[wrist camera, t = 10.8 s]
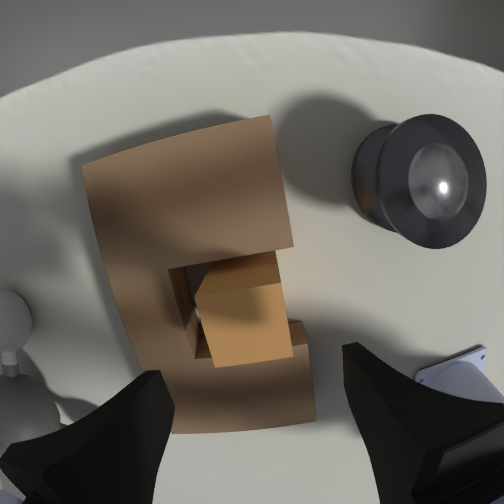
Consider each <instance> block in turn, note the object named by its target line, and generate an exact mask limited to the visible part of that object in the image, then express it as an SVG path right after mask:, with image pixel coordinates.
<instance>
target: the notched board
mask: <svg viewBox="0 0 504 504" xmlns="http://www.w3.org/2000/svg"><path fill="white" fill-rule="evenodd" d="M81 166H82V172H83V178H84V183H85V188H86V193H87V198H88V203H89V208H90V212H91V217H92V221H93V225H94V229H95V233H96V237H97V241H98V245H99V249H100V252H101V256H102V259H103V263H104V266H105V270H106V273H107V276H108V280H109V283H110V286H111V289H112V292H113V295H114V298H115V301H116V304H117V307H118V310H119V313H120V316H121V319H122V322H123V324H124V327H125V330H126V332H127V335H128V338H129V340H130V343H131V345H132V348H133V350H134V353H135V355H136V358H137V360H138V363H139V365H140V367H141V370H142V372H143V373H144V372H145V371H147V370H160V371H161V374H162V376H163V379H164V381H165V384H166V386H167V388H168V391H169V393H170V395H171V397H172V400H173V402H174V404H175V413H174V419H173V425H172V429H171V433H172V434H194V433H220V432H236V431H248V430H258V429H267V428H275V427H282V426H289V425H296V424H302V423H308V422H314V421H316V412H315V402H314V393H313V384H312V375H311V366H310V358H309V350H308V343H307V339H306V335H305V331H304V327H303V323H302V321H300V322H294V323H288V326H289V332H290V338H291V344H292V350H293V357H288V358H282V359H276V360H269V361H263V362H256V363H249V364H242V365H234V366H225V367H217V368H215V365H214V362H213V359H212V356H211V353H210V349H209V346H208V343H207V340H206V336H203V335H202V332H201V328H200V325H199V321H198V318H197V314H196V311H195V307H194V304H193V300H192V296H191V293H190V289H189V285H188V281H187V278H186V274H185V270H184V266H188V265H194V264H200V263H205V262H211V261H217V260H222V259H228V258H234V257H239V256H245V255H251V254H256V253H262V252H268V251H273V250H279V249H285V248H290V247H294V245H293V239H292V233H291V227H290V221H289V215H288V210H287V204H286V198H285V193H284V187H283V182H282V176H281V171H280V165H279V160H278V155H277V150H276V145H275V140H274V135H273V130H272V125H271V120H270V115H267V116H261V117H255V118H250V119H244V120H239V121H234V122H229V123H225V124H220V125H215V126H211V127H207V128H202V129H198V130H194V131H190V132H186V133H182V134H178V135H174V136H171V137H167V138H163V139H160V140H156V141H153V142H150V143H146V144H143V145H140V146H136V147H133V148H130V149H127V150H124V151H121V152H118V153H115V154H112V155H109V156H106V157H103V158H100V159H98V160H95V161H92V162H89V163H87V164H84V165H81Z"/></svg>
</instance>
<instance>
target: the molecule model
mask: <svg viewBox="0 0 504 504" xmlns="http://www.w3.org/2000/svg"><path fill="white" fill-rule="evenodd" d="M31 330H32V318H31V314H30V310H29V308H28V306H27V305H26V303H25V302H24V300H23V299H22V298H21V297H19V296H18V295H17V294H15V293H14V292H11V291H6V290H0V352H1V359H2V366H3V372H4V374H3V375H0V457H1V455H2V454H3V452H4V451H6V449H7V448H8V447H9V445H10V444H11V443H16V442H21V441H25V440H30V439H34V438H38V437H41V436H44V435H47V434H50V433H52V432H55V431H57V430H60V429H62V428H64V427H66V426H68V425H65V424H62V423H60V413H59V411H58V408H57V406H56V403H55V401H54V399H53V397H52V396H51V395H50V393H49V392H48V391H47V390H46V389H45V387H44V386H43V385H42V384H41V383H39V382H38V381H36V380H34V379H33V378H31V377H30V376H28V375H23V374H20V373H19V366H18V360H17V352H16V351H17V350H18V349H20V348H21V347H23V346H25V344H26V342H27V340H28V339H29V337H30V335H31ZM1 489H3V486H2V482H1V477H0V490H1Z"/></svg>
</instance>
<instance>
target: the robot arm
mask: <svg viewBox="0 0 504 504" xmlns="http://www.w3.org/2000/svg"><path fill="white" fill-rule="evenodd" d="M342 352H343V372H344V388H345V391H346V395H347V399H348V403H349V406H350V409H351V411H352V414H353V416H354V419H355V421H356V424H357V426H358V428H359V431H360V433H361V436H362V438H363V441H364V443H365V446H366V448H367V451H368V454H369V457H370V461H371V465H372V468H373V472H374V476H375V481H376V485H377V490H378V494H379V499H380V504H504V396H503V395H502V394H501V393H500V392H499V391H498V389H497V388H496V387H495V386H494V385H493V384H492V383H491V382H490V381H489V379H488V378H487V377H486V376H485V375H484V374H483V373H482V371H483V367H484V363H485V358H486V354H487V348H486V347H485V346H483V347H481V348H478V349H476V350H473V351H471V352H469V353H466V354H464V355H461V356H458V357H456V358H453V359H451V360H448V361H445V362H442V363H440V364H437V365H434V366H431V367H428V368H425V369H422V370H420V371H418V372H417V373H416V376H415V381H414V380H412V379H410V378H409V377H407V376H405V375H403V374H402V373H400V372H398V371H397V370H395V369H393V368H392V367H391V366H389V365H388V364H386V363H385V362H383V361H382V360H381V359H379V358H378V357H376V356H375V355H374V354H373V353H371V352H370V351H369V350H367V349H366V348H365V347H364V346H362V345H361V344H360V343H358V342H355V343H351V344H346V345H342ZM420 379H421V380H420ZM419 380H420V381H419ZM174 413H175V404H174V402H173V400H172V397H171V395H170V393H169V391H168V388H167V386H166V384H165V381H164V379H163V376H162V374H161V371H160V370H147V371H145V372H144V373H142V374H141V375H140V376H138V377H137V378H136V379H134V380H133V381H132V382H131V383H130V384H128V385H127V386H126V387H125V388H123V389H122V390H121V391H120V392H119V393H117V394H116V395H115V396H114V397H112V398H111V399H110V400H108V401H107V402H106V403H104V404H103V405H101V406H100V407H99V408H97V409H96V410H95V411H93V412H91V413H90V414H88V415H87V416H85V417H83V418H82V419H80V420H78V421H76V422H74V423H72V424H70V425H68V426H66V427H64V428H62V429H60V430H57V431H55V432H52V433H50V434H47V435H44V436H41V437H38V438H34V439H30V440H25V441H21V442H16V443H11V444H10V445H9V447H8V448H7V449H6V451H5V452H4V453H3V455H2V456H1V457H0V468H1V470H2V472H3V473H4V474H5V475H6V476H7V477H8V479H9V480H10V481H11V482H12V483H13V484H14V485H15V486H16V487H17V488H18V489H19V490H20V491H21V492H22V493H23V494H24V495H25V496H26V499H25V500H24V501H22V500H21V499H20V498H18V497H16V496H14V495H13V494H11V493H9V492H7V491H5V490H3V489H1V490H0V504H152V501H153V494H154V488H155V482H156V476H157V472H158V469H159V465H160V462H161V459H162V456H163V453H164V450H165V447H166V444H167V441H168V438H169V435H170V432H171V429H172V425H173V419H174Z"/></svg>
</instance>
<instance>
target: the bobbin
mask: <svg viewBox="0 0 504 504" xmlns="http://www.w3.org/2000/svg"><path fill="white" fill-rule="evenodd" d="M352 186H353V191H354V194H355V197H356V200H357V202H358V204H359V206H360V207H361V209H362V211H363V212H364V213H365V214H366V215H367V217H368V218H370V219H371V220H372V221H373V222H374V223H376V224H377V225H379V226H381V227H383V228H385V229H387V230H390V231H392V232H397V233H399V234H400V235H401V236H403V237H404V238H406V239H407V240H409V241H411V242H413V243H415V244H417V245H419V246H422V247H425V248H430V249H441V248H446V247H450V246H452V245H454V244H456V243H458V242H460V241H461V240H462V239H464V238H465V237H466V236H467V235H468V234H469V233H470V232H471V230H472V229H473V228H474V226H475V225H476V223H477V222H478V220H479V218H480V215H481V213H482V210H483V207H484V203H485V198H486V187H487V182H486V172H485V166H484V162H483V159H482V156H481V153H480V151H479V149H478V147H477V145H476V144H475V142H474V140H473V139H472V137H471V136H470V135H469V134H468V132H467V131H466V130H465V129H464V128H463V127H461V126H460V125H459V124H458V123H456V122H455V121H453V120H451V119H449V118H447V117H444V116H441V115H436V114H425V115H420V116H416V117H413V118H410V119H408V120H405V121H403V122H402V123H400V124H395V125H389V126H386V127H383V128H380V129H378V130H376V131H374V132H373V133H371V134H370V135H369V136H368V137H367V138H365V140H364V141H363V142H362V143H361V145H360V146H359V148H358V150H357V152H356V154H355V157H354V161H353V165H352Z"/></svg>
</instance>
